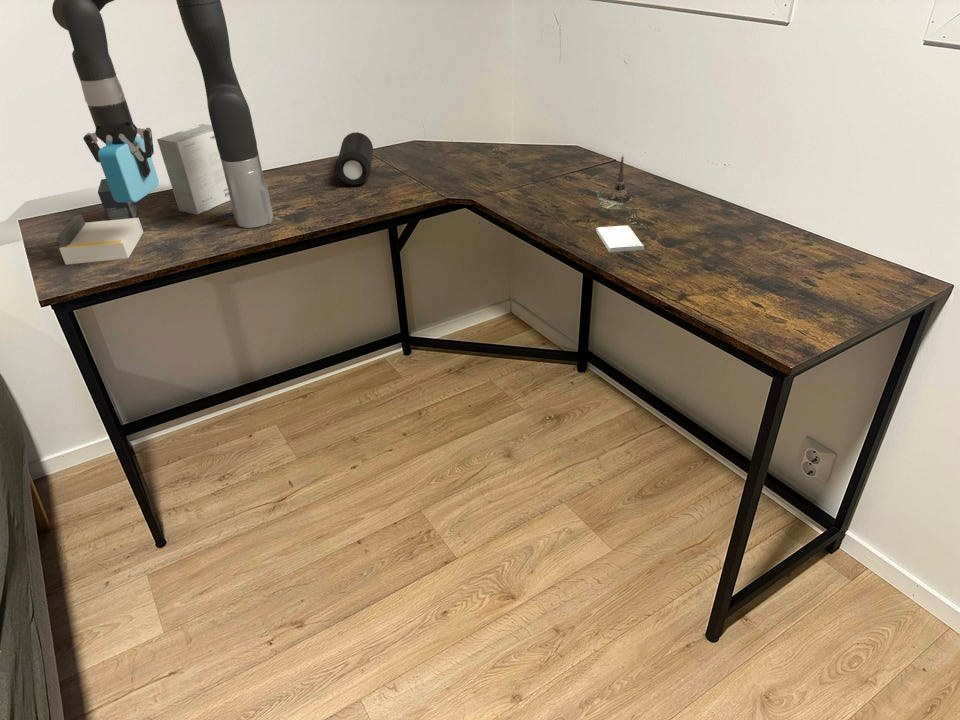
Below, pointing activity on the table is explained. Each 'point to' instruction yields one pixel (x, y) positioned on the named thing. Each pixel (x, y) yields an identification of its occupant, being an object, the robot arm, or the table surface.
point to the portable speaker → (355, 159)
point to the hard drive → (619, 238)
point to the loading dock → (98, 240)
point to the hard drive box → (194, 169)
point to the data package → (126, 172)
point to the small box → (115, 204)
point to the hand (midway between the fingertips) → (132, 177)
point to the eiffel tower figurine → (616, 194)
